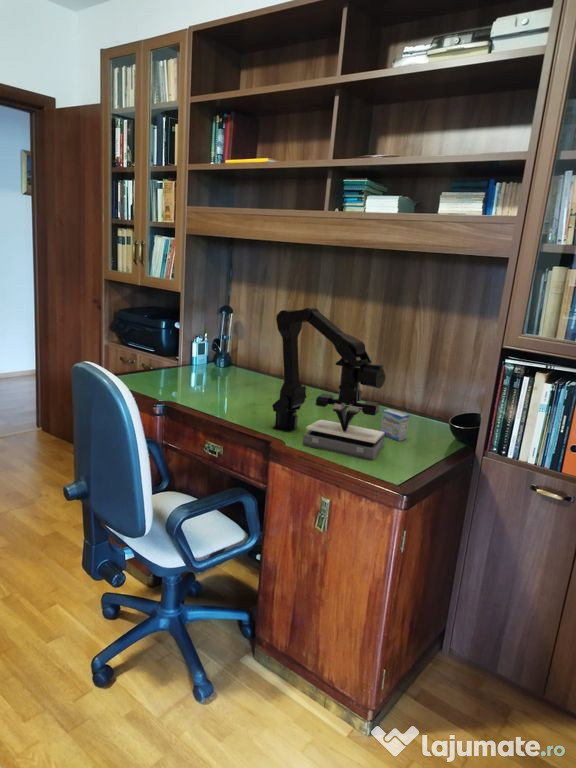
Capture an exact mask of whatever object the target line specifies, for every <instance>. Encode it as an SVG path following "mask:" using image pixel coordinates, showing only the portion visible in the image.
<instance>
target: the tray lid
mask: <svg viewBox="0 0 576 768" xmlns="http://www.w3.org/2000/svg"><path fill="white" fill-rule="evenodd" d="M305 429H306V430H307V431H309V430H313V431H318V432H323V433H328V434H332V435H337V436H342V437H347V438H352V439H357V440H361V441H366V442H371V443H376V442H377V441H378V440H379V439H380V438H381V437H382V436H383V435H384V433H385V432H382V431H380V430H377V429H372V428H367V427H361V426H357V425H351V424H349V426H348V429H347V431H346V432H345V431H343V429H342V426H341V423H340V422H336V421H331V420H325V419H319V420H317V421H315V422H312V423H311V424H309V425H307V426H306V428H305Z"/></svg>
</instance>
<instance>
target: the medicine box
mask: <svg viewBox="0 0 576 768" xmlns="http://www.w3.org/2000/svg"><path fill="white" fill-rule="evenodd" d="M381 417H382V418H381V423H380V430H379V431H382V432H385V433H384V435H385V437H386V438H387V439H388V438H389V439H392V440H394V441H397V442H401V441H404V440H406V439H407V433H408V429H409V427H408V426H409V421H410V414H406V413H404V412H400V411H397V410H394V409H391V408H388V409H385V410H382V415H381Z"/></svg>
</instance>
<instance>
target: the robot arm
mask: <svg viewBox="0 0 576 768" xmlns="http://www.w3.org/2000/svg"><path fill="white" fill-rule="evenodd" d="M275 317H276V318H275V319H276V321H275V322H276V325H277V326H276V327H277V331H278V332H279V334H280V336H281V339H282V356H283V357H282V358H283V359H282V360H283V383H282V386H281V389H280V392H279V398H278V400H276V402H274V403H273V404H272V410H273V412H275V422H274V423H275V424H274V425H273V426H272V428H273V429H275V430H279V431H283V432H284V431H285V432H289V433H291V432H292V431H294V430H295V429H297V427H298V416H299V415H298V414H297V413H298V412H297V411H299V410H300V409H301V407H302V406H303V404H304V403H305V401H306V399H307V394H306V391H307V388H306V385H302V383H301V381H300V371H299V369H300V366H299V339H298V338H299V335H300V332H301V331H302V328H303V327H302V326H303V324H304V323H309V324H310V325H311V326H312V327H313V328H315V329H316V331H317V332H319V333H320V334H321V335H322V336H323V337H324V338H326V339H327V340H328V341H330V342H331V344H332V345H333V347H334V349H335V351H336V352H337V354H338V355H339V356H340V357H341V358H340V359H339V360H337V361H336V362H335V366H340V367H341V371H340V380H339V385H338V390H339V391H338V398H335V397H334V395H332V394H326V393H322V394H320V395H318V396H317V397H316V400H315V406H316V407H324V408H325V407H327V406H328V405H332V406H333V409H332V411H333V412H335V413H336V415H337V417H338V420H339V423H341V426H342V429H343V431H345V432H346V431H347V429H348V426H349V425H351V422H352V420H353V418H354V416H356V415H358V414H359V413H360V412H361V411H362V413H363V415H368V416H376V415H377V414H378V413H379V412H380V406H381V405H380V403H379V402H375V401H370V400H367V401H365V402H363V403H362V401H361V400H362V395H363V391H362V390H361V389H360V387H361V386H360V385H362V386H366V387H371V388H374V389H375V388H376V389H381V388H382V387H383V386H384V385H385V381H386V374H385V373H386V372H385V370H384V369H383V368H384V365H382V364H375V363H372V360H371V359H370V357H369V355H368V352H367V351H366V345H365V343H364V342H363V341H362V340H360V339H359V338H357V337H354V336H353V335H350V334H348V333H345V332H343V331H342V330H341V329H340V328H339V327H337V325H335V324H334V323H333V322H332V321H331V320H330V319H329V318H327V317H326V316H325V315H323V314H322V312H320V311H319V309H317V308H316V307H306V308H303V309H283V310H280V311H279V312H278V313H277V314H276V316H275Z"/></svg>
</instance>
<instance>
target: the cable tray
mask: <svg viewBox="0 0 576 768" xmlns="http://www.w3.org/2000/svg"><path fill="white" fill-rule="evenodd" d="M303 445H304V446H303ZM384 445H385V435H383V436H382V437H381V438H380V439H379V440H378V441H377V442H376V443H371V442H366V441H361V440H357V439H352V438H347V437H342V436H337V435H332V434H328V433H323V432H318V431H313V430H307V432H305V433H304V434H303V443H302V446H303V447H308V446H309V448H312V447H314V449H317V448H320V449H319V450H322V449H324V450H323V451H326V450H328V451H327V452H331V451H333V452H332V453H335V452H336V454H340V455H344V456H345V455H346V456H349V457H354V458H358V459H364V460H368V461H374V459H376V457H377V455H378V454H379V452H380V451H381V450H382V448H383V447H384Z"/></svg>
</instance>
